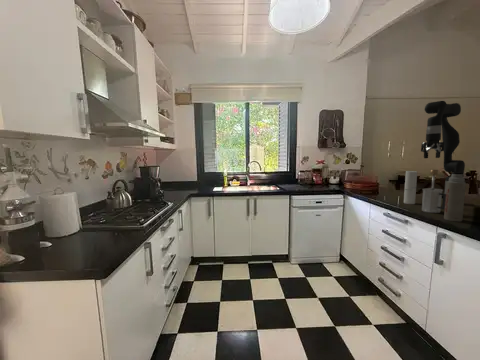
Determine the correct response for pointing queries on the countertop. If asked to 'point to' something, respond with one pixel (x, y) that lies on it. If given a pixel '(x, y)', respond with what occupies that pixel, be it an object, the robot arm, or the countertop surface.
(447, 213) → the thermos bottle
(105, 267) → the countertop surface
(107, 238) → the countertop surface
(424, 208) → the press body
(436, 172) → the plunger
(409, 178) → the cylindrical container
